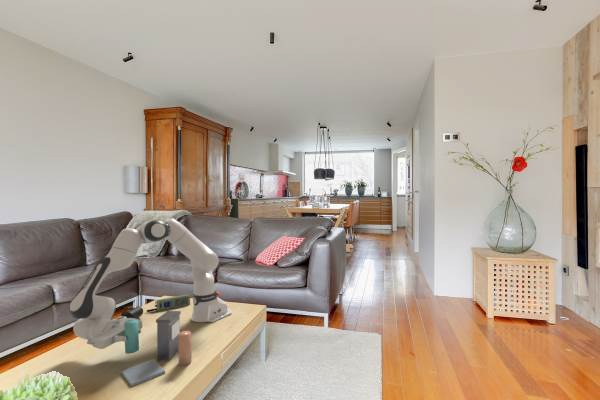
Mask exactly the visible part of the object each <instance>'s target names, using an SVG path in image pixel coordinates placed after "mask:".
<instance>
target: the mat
mask: <svg viewBox="0 0 600 400" xmlns="http://www.w3.org/2000/svg"><path fill="white" fill-rule="evenodd" d="M120 372H121V373H120V374H121V375H122V377H123V378H124V379H125V380H126V381H127V383H128V385H130V387H134V386H136V385H139V384H142V383H144V382H147V381H149V380H151V379H154V378H156V377H158V376H161V375H163V374H165V373H166V370H165V369H164V368H163V367H162V366H161V365H160V364H159V363H158V362H157V361H156V360H155V359H151V360H148V361H145V362H143V363H139V364H137V365H134V366H132V367H128V368H126V369H123V370H121V371H120Z"/></svg>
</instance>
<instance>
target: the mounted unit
mask: <svg viewBox="0 0 600 400" xmlns="http://www.w3.org/2000/svg"><path fill="white" fill-rule="evenodd" d="M181 314H182V313H181V310H167V311H165V312H164V313H163V314H162V315H160V316H159V317H158V318H156V320H155V323H156V327H157V329H156V330H157V331H156V333H157V335H156V336H157V337H156V339H157V341H156V342H157V343H156V344H157V361H158V362H160V361H161V362H164V361H165V362H170V361H171V360H172V358H174V357H175V355H176V354H177V353H178V334H179V333H180V332H181V329H180V327H181V323H180V322H181V321H180V318H181V317H180V316H181Z"/></svg>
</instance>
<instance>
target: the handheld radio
mask: <svg viewBox="0 0 600 400" xmlns="http://www.w3.org/2000/svg"><path fill="white" fill-rule="evenodd" d="M154 304H155V305H154V307H155V308H151V309H147V310H146V313H151V312H154V311H157V312H160V311H166V310H167V311H168V310H171V309H175V308H181V307H185V306H190V305H191V295H190V294H183V295H182V294H181V295H177V296H172V297H166V298H161V299H155V300H154Z"/></svg>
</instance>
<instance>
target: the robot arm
mask: <svg viewBox="0 0 600 400" xmlns="http://www.w3.org/2000/svg"><path fill="white" fill-rule="evenodd" d="M162 240H167V241H168V242H169V243H170V244H171V245H172V246H174V248H175V249H177V250H178V251H179V252H180V254H182V255H184V257H186V258H187V259H189V261H190V267H191V272H192V278H193V294H192V303H193V304H192V305H193V309H192V314H191V318H190V320H191V321H192V322H196V323H214V322H216V321H218V320H221V319H223V318H225V317H228V316H230V315H232V310H231V309H229V308H228V304H227V302H226V301H224V300H223V299H221V298H219V297H220V296H221V295H222V294H221V292H220V291H215V277H214V274H213V270H215V269H216V268H217V267H218V266H219V263H220V260H219V259H220V258H219V257H218V254H216V253H215V252H214V251H213V250H212V249H211V248H209V247H208V245H206V244H205V243H203V242H202V241H201V240H200V239H198V237H197V236H195V235H194V234H193V233H192V232H191V231H190V230H189V229H188V228H187V227H186V226H185V225H183V223H181V222H180V221H178V220H176V219H175V218H167V219H165V220H164V221H162V220H160V219H153V220H149V221H148V220H147V221H145V222H143V223H140V224H139V225H137V226H136V227H135V228H133V227H132V228H131V227H127V228H123V229H122V230H121V231H120V232H119V233H118V235H117V237H116V239H114V242H113V243H112V246H111V248H110V250H109V251H108V253H107V254H106V256H104V257H102V258H100V259H99V260H98V261H97V263H96V264H95V265H94V267H93V269H92V270H91V272H90V273H89V275H88V277H87V278H86V279H85V281H84V283H83V284H82V286H81V288H80V289H79V291H78V292H77V293H76V295H75V296H74V297H73V298H72V299H71V301H70V303H69V307H68V310H69V314H70V315H71V316H72V318H74V319H77V320H76V321H75V322H74V324H73V327H72V328H73V333H74V335H76V337H78V338H79V339H81V340H82V339H83V340H87V341H86V344H87V345H91V346H92V347H94V348H95V349H99V350H102V349H106V348H107V347H109V346H111V345H114V344H115V343H120V342H124V343H125V341H127V340H128V336H126V335H125V329H124V323H125V322H126V321H128V320H132V319H134V318H127V317H121V316H120V317H115V318H113V317H114V315H115V312H116V310H117V309H116V308H117V304H116V301H115V299H114V298H113V297H109V296H106V295H105V296H104V295H102V296H101V295H97V294H96V292H97V290H98V289H99V287H100V285H101V283H102V282H103V280H104V278H105V277H106V276H107V275H109V274H110V273H112V272H117V271H123V270H125V269H128V268H129V267H131V266H132V264H133V263H134V262H135V260H136V257H137V254H138V252H139V248H140V247H141V245H143V244H152V243H153V244H155V243H156V242H160V241H162ZM137 320H138V332H139V334H141V333H142V329H143V320H141V319H139V318H138V319H137Z"/></svg>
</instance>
